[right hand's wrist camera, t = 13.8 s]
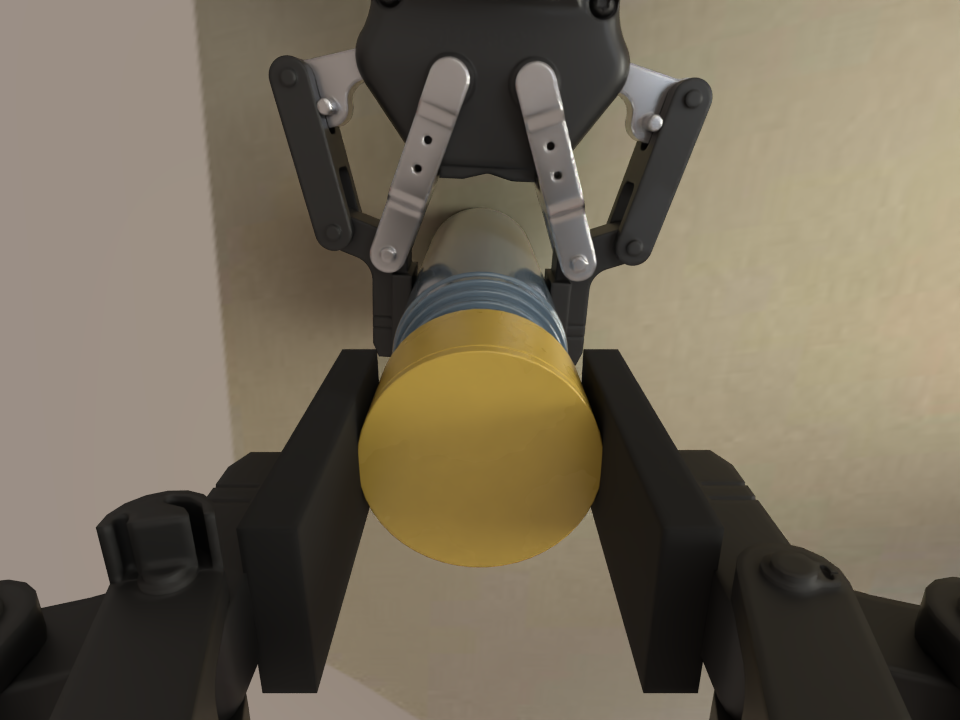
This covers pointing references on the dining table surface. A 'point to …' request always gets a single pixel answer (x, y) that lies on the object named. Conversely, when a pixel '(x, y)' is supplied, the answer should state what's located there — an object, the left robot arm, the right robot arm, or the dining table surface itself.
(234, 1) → the dining table surface
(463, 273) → the bottle
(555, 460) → the cap
